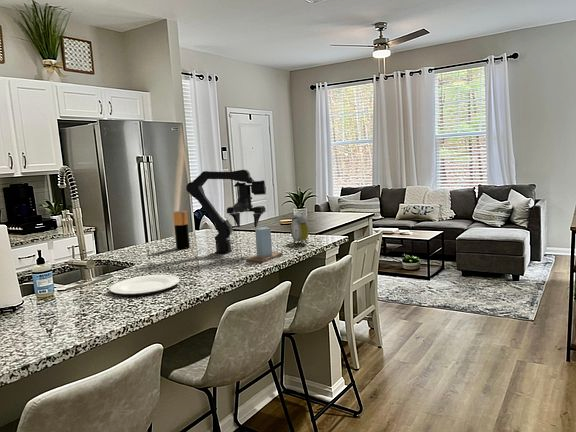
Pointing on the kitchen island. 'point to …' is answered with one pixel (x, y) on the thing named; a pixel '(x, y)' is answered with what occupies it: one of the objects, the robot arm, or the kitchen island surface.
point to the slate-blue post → (263, 242)
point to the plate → (144, 284)
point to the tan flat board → (264, 259)
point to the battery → (181, 229)
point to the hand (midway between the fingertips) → (247, 227)
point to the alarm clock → (299, 228)
